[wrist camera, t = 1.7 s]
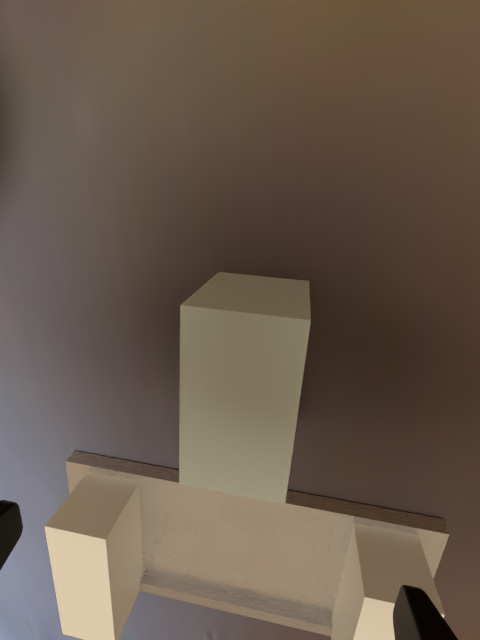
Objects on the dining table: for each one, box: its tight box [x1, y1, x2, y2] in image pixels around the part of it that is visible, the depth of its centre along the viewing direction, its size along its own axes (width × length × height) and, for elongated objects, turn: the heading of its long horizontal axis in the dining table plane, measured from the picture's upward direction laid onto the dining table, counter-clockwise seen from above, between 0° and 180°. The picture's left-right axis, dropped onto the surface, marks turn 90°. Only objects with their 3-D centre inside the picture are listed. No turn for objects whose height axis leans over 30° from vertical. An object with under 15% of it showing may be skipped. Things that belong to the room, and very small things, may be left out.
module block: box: [179, 272, 311, 505], centre depth 16 cm, size 4×8×6 cm, turn 176°
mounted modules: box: [45, 472, 445, 640], centre depth 21 cm, size 20×9×4 cm, turn 86°
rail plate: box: [66, 451, 449, 636], centre depth 23 cm, size 23×10×2 cm, turn 86°
